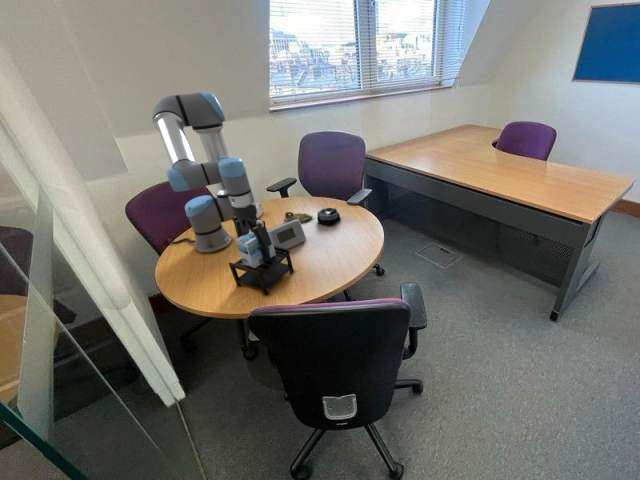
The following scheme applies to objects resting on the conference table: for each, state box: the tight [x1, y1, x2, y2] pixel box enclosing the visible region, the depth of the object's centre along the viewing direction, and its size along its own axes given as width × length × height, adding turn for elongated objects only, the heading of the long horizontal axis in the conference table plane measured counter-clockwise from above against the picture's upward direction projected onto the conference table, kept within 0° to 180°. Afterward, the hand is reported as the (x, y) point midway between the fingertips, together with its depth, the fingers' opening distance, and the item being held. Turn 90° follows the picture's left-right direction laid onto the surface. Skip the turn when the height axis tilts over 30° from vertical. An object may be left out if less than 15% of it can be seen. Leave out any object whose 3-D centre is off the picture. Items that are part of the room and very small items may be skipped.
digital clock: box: [268, 219, 307, 252], centre depth 142 cm, size 16×9×11 cm, turn 123°
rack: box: [228, 246, 295, 297], centre depth 121 cm, size 15×16×11 cm
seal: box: [284, 211, 313, 224], centre depth 166 cm, size 9×5×15 cm
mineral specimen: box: [255, 202, 264, 219], centre depth 170 cm, size 13×7×6 cm, turn 175°
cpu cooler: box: [316, 207, 341, 227], centre depth 162 cm, size 10×6×10 cm
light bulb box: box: [235, 230, 276, 268], centre depth 116 cm, size 11×7×11 cm, turn 148°
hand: (260, 258), depth 119 cm, fingers closed on light bulb box, 7 cm apart
